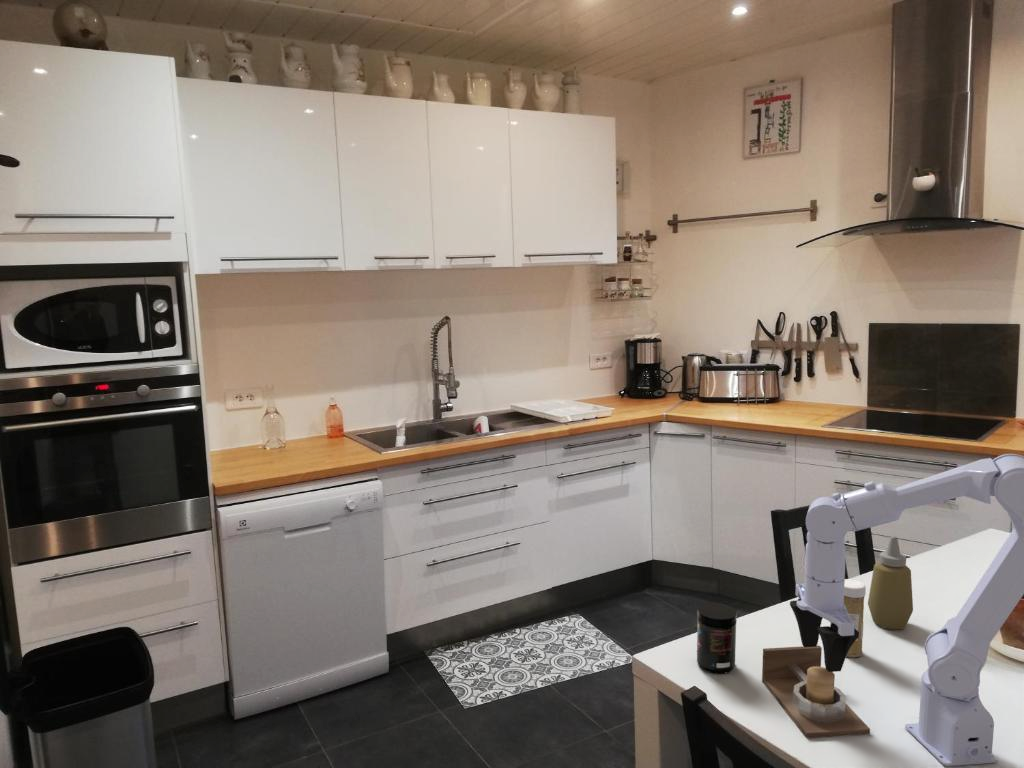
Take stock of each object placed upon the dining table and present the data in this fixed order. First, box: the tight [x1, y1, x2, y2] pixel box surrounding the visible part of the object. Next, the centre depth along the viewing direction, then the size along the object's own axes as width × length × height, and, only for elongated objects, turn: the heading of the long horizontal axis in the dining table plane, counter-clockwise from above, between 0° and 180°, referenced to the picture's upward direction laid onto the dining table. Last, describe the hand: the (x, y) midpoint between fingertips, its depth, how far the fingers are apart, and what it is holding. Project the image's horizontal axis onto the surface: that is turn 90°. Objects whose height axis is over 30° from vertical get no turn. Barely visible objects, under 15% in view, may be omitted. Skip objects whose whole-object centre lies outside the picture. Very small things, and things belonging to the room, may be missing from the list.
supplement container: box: [696, 602, 738, 675], centre depth 131 cm, size 7×7×10 cm
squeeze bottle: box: [867, 536, 914, 631], centre depth 145 cm, size 8×8×18 cm
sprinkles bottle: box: [844, 578, 867, 658], centre depth 134 cm, size 5×5×13 cm
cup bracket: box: [761, 645, 871, 739], centre depth 118 cm, size 16×10×6 cm, turn 4°
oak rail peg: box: [806, 666, 836, 705], centre depth 116 cm, size 4×4×6 cm
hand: (821, 657), depth 115 cm, fingers open, 7 cm apart
